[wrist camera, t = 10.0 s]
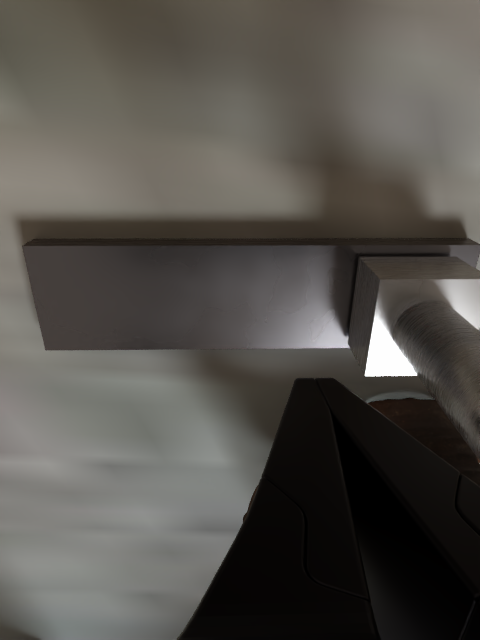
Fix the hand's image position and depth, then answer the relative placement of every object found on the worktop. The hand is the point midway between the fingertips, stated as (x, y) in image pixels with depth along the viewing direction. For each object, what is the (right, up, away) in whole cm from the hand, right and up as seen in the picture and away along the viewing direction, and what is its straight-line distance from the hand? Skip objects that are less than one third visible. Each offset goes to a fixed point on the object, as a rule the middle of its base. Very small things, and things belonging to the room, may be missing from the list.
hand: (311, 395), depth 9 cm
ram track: (-1, +3, +5) cm, 6 cm away
